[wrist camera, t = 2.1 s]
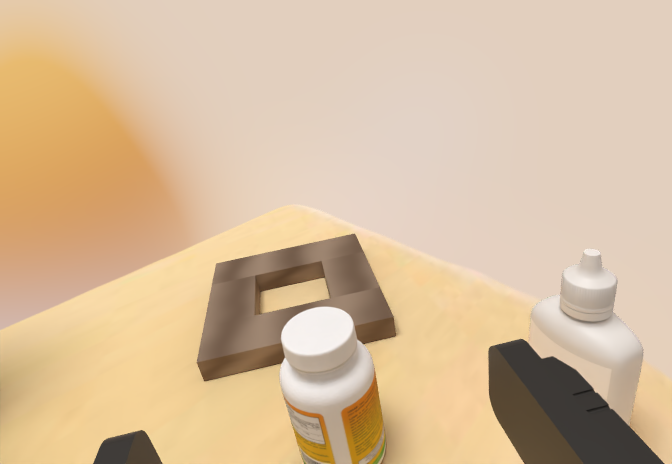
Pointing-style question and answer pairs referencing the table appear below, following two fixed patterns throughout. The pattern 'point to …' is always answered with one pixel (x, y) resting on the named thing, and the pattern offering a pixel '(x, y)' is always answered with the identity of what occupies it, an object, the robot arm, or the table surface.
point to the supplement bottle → (331, 389)
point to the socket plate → (265, 329)
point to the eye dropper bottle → (590, 333)
